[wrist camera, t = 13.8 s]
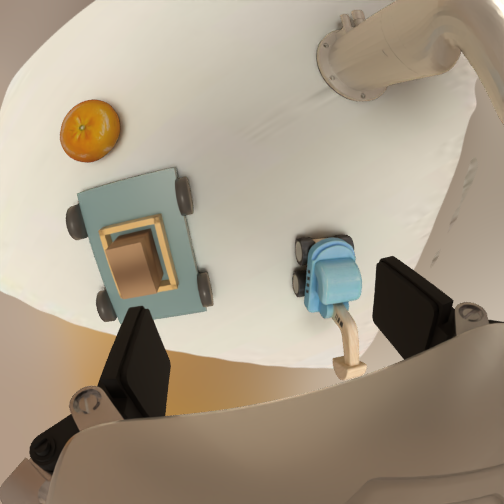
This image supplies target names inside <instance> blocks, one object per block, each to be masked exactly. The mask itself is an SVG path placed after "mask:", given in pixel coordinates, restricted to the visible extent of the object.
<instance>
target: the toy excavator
mask: <svg viewBox="0 0 504 504" xmlns="http://www.w3.org/2000/svg"><path fill="white" fill-rule="evenodd" d="M296 259H297V262H298V264H299V265H307V271H306V270H305V271H295V272H294V274H293V275H294V278H293V289H294V292H295V294H296V296H297V297H303V296H305V298H304V304H305V306H306V308H307V310H308V311H309V312H311V313H312V312H320V314H321V315H322V317H323V318H330V317H331V318H332V319H333V320H334V321H335V323H336V324H337V325H338V326H339V328H340V330H341V333H342V340H343V349H344V356H341V357H336V358H333V367H334V370H335V373H336V375H337V376H338V378H339V379H341V380H347V379H352V378H356V377H359V376H362V375H363V374H364V373H365V371H366V368H367V365H366V364H365V363H363V362H361V361H359V339H358V330H357V326H356V323H355V321H354V319H353V318H352V316H351V315H350V313H349V312H348V309H349V303H348V302H349V301H353V300H357V299H358V298H359V297H360V295H361V290H362V279H361V274H360V271H359V268H358V266H357V264H356V263H355V259H356V257H355V253H354V244H353V240H352V238H351V237H350V236H348V235H337V236H335V237H334V238H324V239H311V238H309V237H308V238H298V239H297V240H296Z"/></svg>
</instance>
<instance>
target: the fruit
mask: <svg viewBox="0 0 504 504" xmlns="http://www.w3.org/2000/svg"><path fill="white" fill-rule="evenodd" d="M119 133H120V122H119V118H118V115H117V113H116V112H115V111H114V109H113V108H112V107H111V106H110V105H109V104H108V103H106V102H103V101H100V100H87V101H84V102H82V103H80V104H78V105H76V106H75V107H73V108H72V109H71V110H70V111H69V113H68V114H67V115H66V117H65V118H64V120H63V123H62V126H61V131H60V142H61V145H62V147H63V149H64V151H65V152H66V154H67V155H68V156H70V157H71V158H72V159H74V160H77V161H80V162H94V161H96V160H99V159H101V158H102V157H104V156H105V155H106V154H107V153H108V152H109V151H110V150H111V149H112V148H113V147H114V145H115V143H116V141H117V139H118V137H119Z"/></svg>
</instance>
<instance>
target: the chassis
mask: <svg viewBox="0 0 504 504" xmlns="http://www.w3.org/2000/svg"><path fill="white" fill-rule="evenodd" d="M77 196H78V200H79V204H78V205H74V206H71V207H69V208H68V210H67V213H66V225H67V229H68V232H69V234H70V235H71V237H72V238H73V239H75V240H80V239H84V238H87V237H89V241H90V244H91V247H92V250H93V253H94V257H95V260H96V262H97V265H98V268H99V271H100V274H101V277H102V280H103V282H104V285H105V288H106V290H104V291H100V292H99V293H98V294H97V298H96V306H97V311H98V314H99V316H100V318H101V319H102V320H103V321H104V322H109V321H115V320H116V318H117V317H118V320H119V322H120V324H122V322H123V320H124V317H125V315H126V313H127V311H128V309H129V308H130V307H136V306H144V308H145V309H147V308H148V309H149V310H150V313H151V315H152V318H153V320H154V319H160V318H167V317H174V316H180V315H186V314H192V313H198V312H204V311H207V307H208V306H213V295H212V289H211V284H210V280H209V276H208V273H207V272H206V273H200V274H199V272H198V268H197V264H196V260H195V256H194V251H193V247H192V243H191V238H190V234H189V229H188V224H187V220H186V215H190V214H193V202H192V196H191V190H190V186H189V182H188V179H187V177H183V178H178V175H177V170H176V167H173V168H168V169H164V170H159V171H155V172H151V173H147V174H143V175H139V176H135V177H131V178H127V179H124V180H120V181H116V182H113V183H109V184H106V185H102V186H99V187H96V188H92V189H89V190H86V191H83V192H80V193H78V194H77ZM150 228H151V231H152V235H153V238H154V242H155V245H156V249H157V253H158V256H159V259H160V263H161V266H162V270H163V273H164V274H163V277H162V280H161V283H160V286H159V289H158V292H157V294H151V295H145V296H140V297H134V298H128V299H122V296H121V294H120V291H119V289H118V286H117V283H116V281H115V278H114V275H113V272H112V270H111V267H110V264H109V261H108V258H107V255H106V252H105V250H106V249H107V248H108V247H109V246H110V245H111V244H112V243H113V241H114V240H115V239H116V238H117V237H118V236H120V235H124V234H128V233H132V232H137V231H141V230H145V229H150Z"/></svg>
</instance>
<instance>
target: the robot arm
mask: <svg viewBox="0 0 504 504" xmlns="http://www.w3.org/2000/svg"><path fill="white" fill-rule="evenodd" d="M351 14H352V17H353V21H354V22H355V27H352V26H351V23H350V22H351V21H350V17H349V15H348V14H342V15H340V17H341V21H342V23H343V27H342V29H340V30H335V31H333V32H331V33H329V34H328V35H327V36H325V37H324V38H323V40H322V41H321V42H320V44H319V46H318V50H317V62H318V67H319V69H320V72H321V74H322V76H323V77H324V79H325V81H326V82H327V83H328V84H329V86H330V87H331V88H333V89H334V90H335V91H336V92H337V93H339V94H340V95H342V96H344V97H346V98H348V99H351V100H354V101H362V102H363V101H370V100H374V99H376V98H378V97H380V96H381V95H382V94H383V93H384V92H385V90H386V89H387V87H388V86H389V85H393V84H397V83H401V82H406V81H410V80H415V79H420V78H425V77H430V76H435V75H440V74H443V73H445V72H447V71H449V70H450V69H451V68H452V67H453V66H454V65H455V63H456V62H457V60H458V58H459V56H460V53H461V51H462V53H463V54H464V55H465V57H466V58H467V60H468V61H469V63H470V64H471V66H472V67H473V68H474V70H475V72H476V73H477V75H478V77H479V79H480V81H481V83H482V84H483V86H484V88H485V90H486V92H487V94H488V96H489V98H490V100H491V102H492V104H493V107H494V109H495V111H496V113H497V115H498V117H499V119H500V120H501V122H502V123H503V125H504V0H397V1H395V2H393V3H392V4H390V5H388V6H387V7H385V8H383V9H382V10H380V11H379V12H377V13H375V14H374V15H372V16H371V17H369V18H368V19H366V20H365V17H364V14H363V11H362V10H353V11H352V12H351ZM330 78H331V80H330ZM452 304H453V300H452V299H451V298H450V297H449V296H447V295H446V294H445V293H443V292H442V291H440V290H439V289H438V288H437V287H436V286H434V285H433V284H431V283H430V282H429V281H427V280H426V279H425V278H423V277H422V276H421V275H419V274H418V273H417V272H415V271H414V270H412V269H411V268H410V267H408V266H407V265H405V264H404V263H403V262H401V261H400V260H398V259H397V258H395V257H394V256H390V257H386V258H382V259H380V261H379V263H377V266H376V280H375V294H374V305H373V315H372V317H373V321H374V323H375V325H376V326H377V327H378V328H379V329H380V331H381V332H382V333H383V334H384V335H385V336H386V338H387V339H388V340H389V341H390V343H391V344H392V345H393V346H394V347H395V349H396V350H397V351H398V353H399V354H400V355H401V356H402V357H403V359H404V360H402V361H400V362H398V363H395V364H393V365H390V366H388V367H385V368H382V369H379V370H377V371H374V372H371V373H369V374H366V375H363V376H360V377H357V378H354V379H351V380H348V381H345V382H342V383H338V384H335V385H332V386H329V387H325V388H322V389H318V390H314V391H311V392H307V393H303V394H299V395H295V396H291V397H287V398H283V399H278V400H274V401H269V402H264V403H259V404H254V405H249V406H243V407H237V408H231V409H225V410H218V411H210V412H202V413H194V414H184V415H175V416H174V415H173V416H165V412H166V402H167V392H168V384H169V375H170V367H171V365H170V360H169V357H168V355H167V353H166V350H165V348H164V345H163V343H162V341H161V338H160V336H159V333H158V331H157V328H156V326H155V323H154V320H153V318H152V315H151V313H150V310H149V309H148V308H147V309H145V308H144V306H136V307H130V308H129V309H128V311H127V313H126V315H125V317H124V320H123V322H122V324H121V327H120V329H119V332H118V334H117V336H116V339H115V341H114V344H113V346H112V348H111V351H110V353H109V356H108V359H107V361H106V364H105V367H104V369H103V372H102V375H101V377H100V380H99V383H98V386H87V387H84V388H82V389H80V390H79V391H77V392H76V393H75V394H74V395H73V396H72V398H71V400H70V404H69V408H70V412H71V414H70V415H69V416H67V417H66V418H64V419H63V420H61V421H60V422H58V423H57V424H55V425H54V426H52V427H51V428H49V429H48V430H46V431H45V432H43V433H41V434H40V435H38V436H37V437H36V438H35V439H34V440H33V442H32V443H31V446H30V457H31V458H30V459H29V460H28V459H27V458H25V459H24V460H23V461H22V462H21V463H20V464H19V465H18V467H17V468H16V469H15V470H14V471H13V472H12V474H11V475H10V476H9V477H8V478H7V479H6V480H5V481H4V483H3V484H2V486H1V487H0V500H1V502H2V504H504V322H500V321H493V320H488V317H487V313H486V311H485V310H484V309H483V308H482V307H481V306H479V305H477V304H474V303H471V302H464V303H460V304H458V305H457V306H456V308H455V309H454V308H453V307H452Z"/></svg>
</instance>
